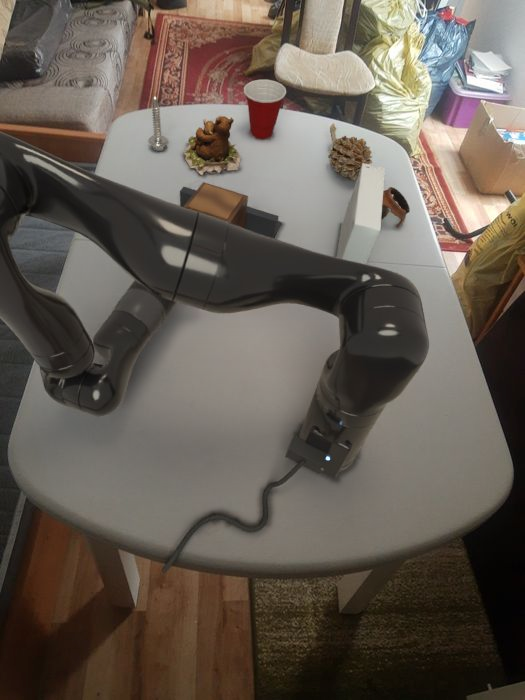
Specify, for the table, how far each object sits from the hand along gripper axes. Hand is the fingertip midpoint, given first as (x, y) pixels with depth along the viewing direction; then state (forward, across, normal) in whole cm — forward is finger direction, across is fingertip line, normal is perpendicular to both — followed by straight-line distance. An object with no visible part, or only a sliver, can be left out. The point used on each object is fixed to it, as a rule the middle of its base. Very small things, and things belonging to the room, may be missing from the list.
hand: (190, 244), depth 88 cm
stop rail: (+21, 0, +9) cm, 23 cm away
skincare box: (+21, -27, +9) cm, 36 cm away
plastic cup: (+58, +7, +9) cm, 59 cm away
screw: (+38, +27, +9) cm, 48 cm away
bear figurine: (+41, +14, +9) cm, 44 cm away
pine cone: (+54, -17, +9) cm, 57 cm away
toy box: (+13, +1, +9) cm, 16 cm away
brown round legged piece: (+36, -31, +9) cm, 49 cm away
